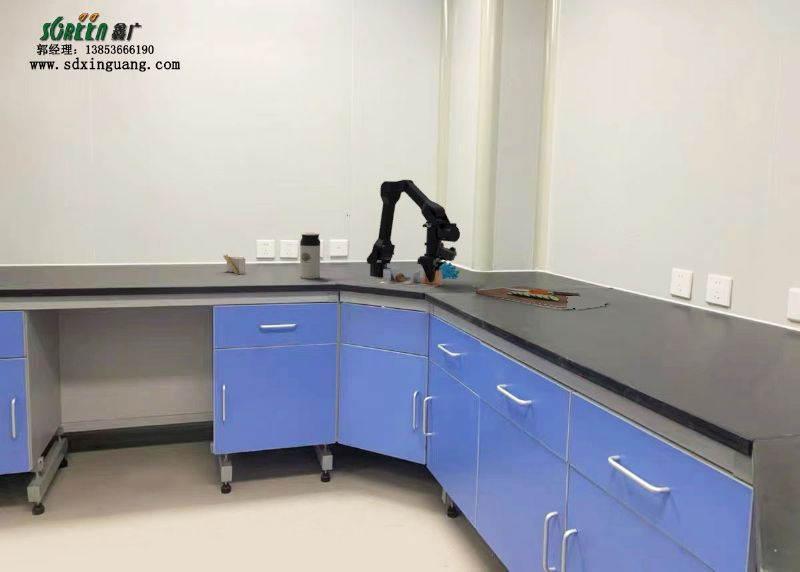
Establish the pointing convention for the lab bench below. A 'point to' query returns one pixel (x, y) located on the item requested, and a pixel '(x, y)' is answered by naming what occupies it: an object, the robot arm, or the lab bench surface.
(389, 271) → the brushed steel block
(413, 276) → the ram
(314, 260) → the travel mug
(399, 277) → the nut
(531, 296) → the chopping board
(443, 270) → the gear
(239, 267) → the model
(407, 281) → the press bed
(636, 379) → the lab bench surface
